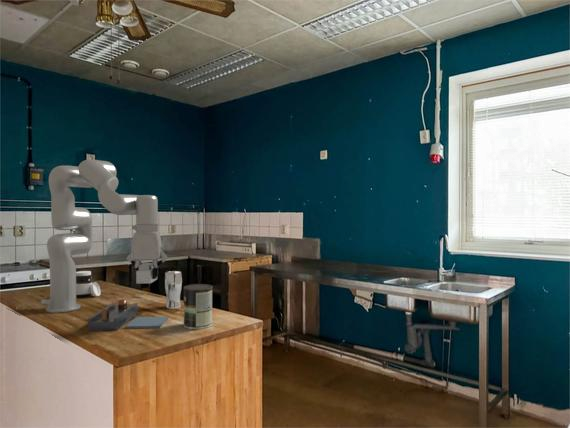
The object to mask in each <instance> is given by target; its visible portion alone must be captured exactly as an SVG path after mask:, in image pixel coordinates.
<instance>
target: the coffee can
mask: <svg viewBox="0 0 570 428" xmlns="http://www.w3.org/2000/svg"><path fill="white" fill-rule="evenodd" d="M212 326H213V285H211V284H207V283H191V284H188V285H184V286H183V327H184V328H185V329H188V330H203V329H207V328H211V327H212Z"/></svg>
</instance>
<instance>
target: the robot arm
mask: <svg viewBox="0 0 570 428" xmlns="http://www.w3.org/2000/svg"><path fill="white" fill-rule="evenodd" d="M117 174H118V173H117V167H115V165H114V164H113V163H111V162H110V161H107V160H100V159H99V160H98V159H85V160H83V161H81V162H80V163H79V165H78V166H75V165H74V166H73V165H59V166H58V165H57V166H56V167H53V168H52V169H51V171H50V173H49V176H48V186H49V191H50V196H51V198H50V199H51V200H50V201H51V203H50V204H51V206H50V207H51V208H50V209H51V210H50V211H51V212H50V213H51V218H50V221H51V226H52V228H53V229H54V230H57V231H73V230H74V232H64V233H57V234H54V235H51V236H50V237H49V238H48V239H47V241H46V249H47V254H48V258H49V291H50V293H49V299H41V302H40V305H41V306H47V307H46V308H45V311H46V312H47V313H50V314H51V313H52V314H53V313H54V314H55V313H56V314H57V313H59V314H60V313H68V312H72V311H76V310H79V309H81V304H80V303H77V298H76V272H77V266H76V263H75V261H74V260H73V258H72V257H73V256H79V255H80V256H81V255H85V254H88V253H89V252H90V251H91V249H92V246H93V216H92V213H91V212H90V210H88V209H87V208H85V207H76V204H75V201H76V200H75V198H76V197H75V195H74V193H73V191H72V190H71V188H72V187H73V188H94V189H95V190H96V191H97V196H98V200H99V203H100V204H101V205H102V206H103V207H104V208H105V209H106V210H107V211H109V212H110V213H112V214H113V215H115V216H128V215H129V216H135V225H132V226H131V229H132V230H134V231H135V232H134V233H133V235H132V241H131V252H130V253H129V254H128V255H127V257H126V260H127V262H130V263H131V265H133V267H134V268H135V272H136V271H137V270H139V265H140V264H142V261H152V263H153V267H154V268H153V279H156V278H157V279H158V277H159V267H160V266H161V265H163V263H164V262H166V261H167V260H168V256H167V255H166V253H165V251H163V247H162V238H161V233H160V231H159V229H158V227H159V226H158V224H159V223H158V222H159V221H158V217H159V216H158V215H159V212H158V210H159V208H158V207H159V205H158V203H159V201H158V197H157V196H156V195H152V194H142V195H141V194H140V195H139V194H121V193H120V194H119V193H118V192H117V191H116V190H117V188H118V185H119V179H118V177H117ZM70 187H71V188H70ZM159 259H160V260H159Z"/></svg>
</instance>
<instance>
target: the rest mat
mask: <svg viewBox="0 0 570 428" xmlns="http://www.w3.org/2000/svg"><path fill="white" fill-rule="evenodd" d="M168 319H169V316H136V317H133V318H132V319H131V321H130V322H129V323H128V322H127V323H126V324H125V326H124V329H126V330H127V329H160V328H161V327H162V326H163V325H164V324H165V323H166V322H167V320H168Z"/></svg>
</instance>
